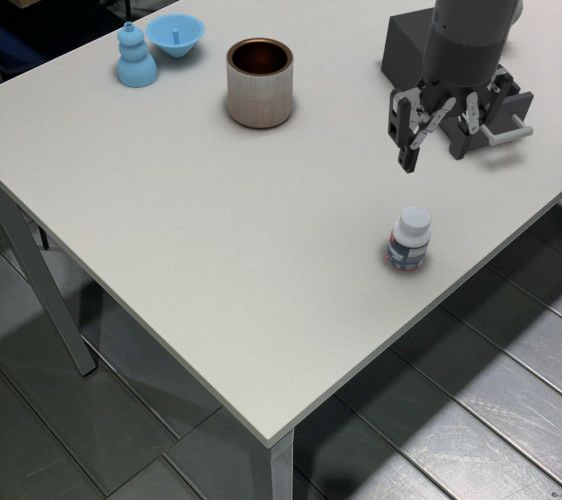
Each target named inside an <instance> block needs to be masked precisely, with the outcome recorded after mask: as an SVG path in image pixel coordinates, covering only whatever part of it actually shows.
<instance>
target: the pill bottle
mask: <svg viewBox="0 0 562 500" xmlns="http://www.w3.org/2000/svg"><path fill="white" fill-rule="evenodd" d="M431 222H432V214H431V213H430V211H429V210H428V209H427V208H425V207H422V206H420V205H409V206H407V207H405V208H404V209H403V210H402V211H401V214H400V217H399V218H398V219H397V220H396V221H395V222H394V224H393V226H392V229H391V231H390V235H389V236H390V237H389V241H388V245H387V248H386V253H385V258H386V261H387V262H388V264H389V265H390V266H391V267H393V268H394V269H396V270H398V271H403V272H410V271H414V270H417V269H418V268H420V267H421V265H422V264H423V263H424V262H423V261H424V259H425V256H426V253H427V250H428V247H429V243H430V241H431V237H432V229H431Z"/></svg>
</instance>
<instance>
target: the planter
mask: <svg viewBox="0 0 562 500" xmlns="http://www.w3.org/2000/svg"><path fill="white" fill-rule="evenodd" d="M294 61H295V59H294V53H293V51H292V50H291V48H290V47H288V46H287V44H285V43H284V42H281V41H279V40H276V39H273V38H267V37H250V38H246V39H242V40H240V41H237V42H236V43H234V44H232V45H231V46H230V48H229V49H228V50H227V52H226V55H225V63H226V64H225V65H226V86H227V87H226V88H227V89H226V90H227V91H226V92H227V108H228V112H229V114H230V116H231V118H233V120H235V121H236V122H238V123H239V124H241V125H244V126H246V127H250V128H254V129H266V128H273V127H276V126H278V125H280V124H282V123H284V122H285V121H287V119H288V118H289V117H290V116H291V113H292V110H293V98H294V97H293V95H294V94H293V93H294V92H293V91H294V89H293V88H294Z"/></svg>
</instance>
